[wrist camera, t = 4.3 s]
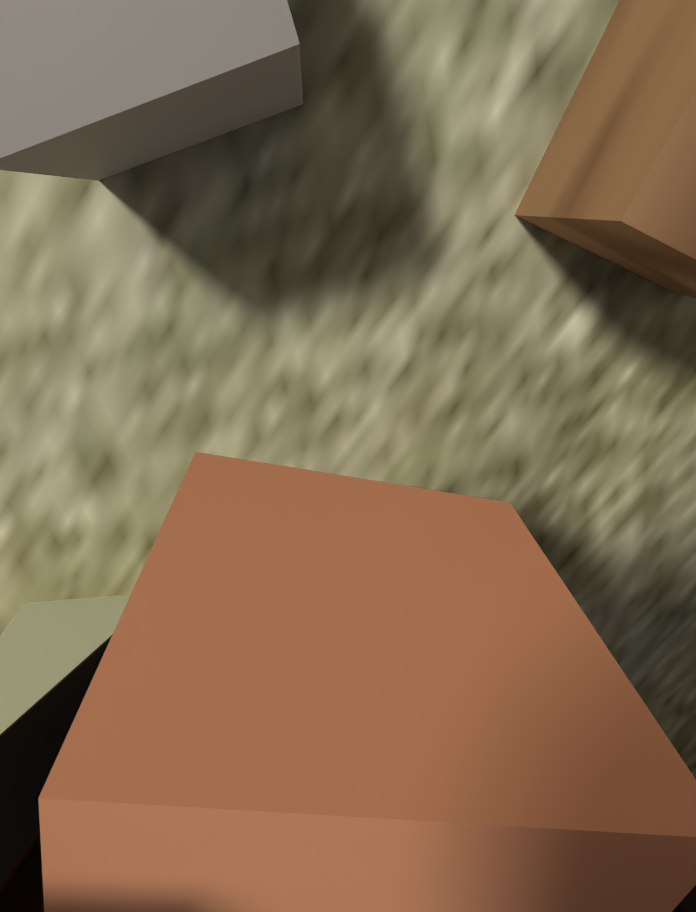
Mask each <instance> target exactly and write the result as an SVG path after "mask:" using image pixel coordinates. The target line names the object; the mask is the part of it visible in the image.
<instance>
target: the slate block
mask: <svg viewBox="0 0 696 912" xmlns="http://www.w3.org/2000/svg"><path fill="white" fill-rule="evenodd" d="M300 105H303V90H302V73H301V56H300V43H299V39H298V36H297V32H296V29H295V26H294V22H293V19H292V15H291V12H290V8H289V5H288V1H287V0H0V170H7V171H16V172H25V173H34V174H43V175H53V176H62V177H71V178H80V179H89V180H98V181H99V180H101V179H104V178H107V177H109V176H112V175H115V174H118V173H120V172H123V171H126V170H128V169H131V168H134V167H136V166H139V165H142V164H144V163H147V162H150V161H152V160H155V159H158V158H160V157H163V156H166V155H169V154H171V153H174V152H177V151H179V150H182V149H185V148H187V147H190V146H193V145H195V144H198V143H201V142H203V141H206V140H209V139H212V138H214V137H217V136H220V135H222V134H225V133H228V132H230V131H233V130H236V129H238V128H241V127H244V126H246V125H249V124H252V123H254V122H257V121H260V120H263V119H265V118H268V117H271V116H273V115H276V114H279V113H281V112H284V111H287V110H289V109H292V108H295V107H297V106H300Z"/></svg>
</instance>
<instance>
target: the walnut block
mask: <svg viewBox="0 0 696 912" xmlns="http://www.w3.org/2000/svg"><path fill="white" fill-rule="evenodd" d="M515 216H517V217H519V218H521V219H524V220H526V221H528V222H530V223H532V224H534V225H536V226H538V227H540V228H542V229H544V230H546V231H548V232H550V233H552V234H554V235H556V236H558V237H560V238H562V239H565V240H567V241H569V242H571V243H573V244H575V245H577V246H579V247H581V248H583V249H585V250H587V251H589V252H591V253H593V254H595V255H597V256H599V257H601V258H603V259H605V260H608V261H610V262H612V263H614V264H616V265H618V266H620V267H622V268H624V269H626V270H628V271H630V272H632V273H634V274H636V275H638V276H640V277H642V278H644V279H646V280H648V281H651V282H653V283H655V284H657V285H659V286H661V287H663V288H665V289H667V290H669V291H671V292H673V293H677V294H682V295H686V296H690V297H694V298H696V0H620V1H619V3H618V5H617V7H616V9H615V11H614V13H613V15H612V17H611V19H610V21H609V23H608V25H607V27H606V29H605V31H604V33H603V35H602V38H601V40H600V42H599V44H598V46H597V48H596V50H595V52H594V54H593V56H592V58H591V60H590V62H589V64H588V66H587V68H586V70H585V72H584V74H583V76H582V78H581V80H580V82H579V84H578V87H577V89H576V91H575V93H574V95H573V97H572V99H571V101H570V103H569V105H568V107H567V109H566V111H565V113H564V115H563V117H562V119H561V121H560V123H559V125H558V127H557V129H556V131H555V133H554V135H553V138H552V140H551V142H550V144H549V146H548V148H547V150H546V152H545V154H544V156H543V158H542V160H541V162H540V164H539V166H538V168H537V170H536V172H535V174H534V176H533V178H532V180H531V182H530V184H529V187H528V189H527V191H526V193H525V195H524V197H523V199H522V201H521V203H520V205H519V207H518V209H517V211H516V213H515Z"/></svg>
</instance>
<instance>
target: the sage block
mask: <svg viewBox="0 0 696 912" xmlns="http://www.w3.org/2000/svg"><path fill="white" fill-rule="evenodd" d="M129 597H130V595H120V596H107V597H95V598H83V599H70V600H58V601H45V602H33V603H24V604H23V605H22V606H21V608H20V609H19V611H18V612H17V613H16V615H15V616H14V617H13V619H12V620H11V622H10V623H9V624H8V626H7V627H6V629H5V630H4V631H3V633H2V634H1V636H0V734H1V733H2V732H3V731H4V730H6V729H7V728H8V727H9V726H10V725H11V724H12V723H13V722H15V721H16V720H17V719H18V718H19V717H20V716H21V715H22V714H24V713H25V712H26V711H27V710H28V709H29V708H30V707H31V706H33V705H34V704H35V703H36V702H37V701H38V700H39V699H40V698H42V697H43V696H44V695H45V694H46V693H47V692H48V691H49V690H51V689H52V688H53V687H54V686H55V685H56V684H57V683H58V682H60V681H61V680H62V679H63V678H64V677H65V676H66V675H67V674H69V673H70V672H71V671H72V670H73V669H74V668H75V667H76V666H78V665H79V664H80V663H81V662H82V661H83V660H84V659H85V658H87V657H88V656H89V655H90V654H91V653H92V652H93V651H94V650H95V649H97V648H98V647H99V646H100V645H101V644H102V643H103V642H104V641H106V640H107V639H108V638H109V637H110V636H111V635H112V634H113V633H114V630H115V628H116V626H117V624H118V622H119V619H120V617H121V615H122V613H123V611H124V608H125V606H126V604H127V602H128V600H129Z"/></svg>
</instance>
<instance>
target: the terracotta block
mask: <svg viewBox="0 0 696 912" xmlns="http://www.w3.org/2000/svg"><path fill="white" fill-rule="evenodd" d="M38 802H39V821H40V840H41V859H42V878H43V897H44V912H672V911H673V910H674V909H675V908H676V906H677V905H678V904H679V903H680V902H681V901H682V900H683V899H684V897H685V896H686V895H687V894H688V893H689V892H690V891H691V890H692V888H693V887H694V886H695V885H696V779H695V778H694V776H693V775H692V773H691V772H690V770H689V769H688V767H687V766H686V764H685V763H684V761H683V760H682V758H681V757H680V755H679V754H678V752H677V751H676V749H675V748H674V746H673V745H672V743H671V742H670V740H669V739H668V737H667V736H666V734H665V733H664V731H663V730H662V728H661V727H660V725H659V724H658V722H657V721H656V719H655V718H654V716H653V715H652V713H651V712H650V711H649V709H648V708H647V706H646V705H645V703H644V702H643V700H642V699H641V697H640V696H639V694H638V693H637V691H636V690H635V688H634V687H633V685H632V684H631V682H630V681H629V679H628V678H627V676H626V675H625V673H624V672H623V670H622V669H621V667H620V666H619V664H618V663H617V661H616V660H615V658H614V657H613V655H612V654H611V652H610V651H609V649H608V648H607V646H606V645H605V643H604V642H603V641H602V639H601V638H600V636H599V635H598V633H597V632H596V630H595V629H594V627H593V626H592V624H591V623H590V621H589V620H588V618H587V617H586V615H585V614H584V612H583V611H582V609H581V608H580V606H579V605H578V603H577V602H576V600H575V599H574V597H573V596H572V594H571V593H570V591H569V590H568V588H567V587H566V585H565V584H564V582H563V581H562V579H561V578H560V576H559V575H558V574H557V572H556V571H555V569H554V568H553V566H552V565H551V563H550V562H549V560H548V559H547V557H546V556H545V554H544V553H543V551H542V550H541V548H540V547H539V545H538V544H537V542H536V541H535V539H534V538H533V536H532V535H531V533H530V532H529V530H528V529H527V527H526V526H525V524H524V523H523V521H522V520H521V518H520V517H519V515H518V514H517V512H516V511H515V509H514V508H513V506H512V505H511V504H510V502H504V501H498V500H492V499H485V498H479V497H473V496H467V495H460V494H454V493H448V492H442V491H435V490H429V489H423V488H417V487H411V486H404V485H398V484H392V483H386V482H379V481H373V480H367V479H361V478H354V477H348V476H342V475H336V474H329V473H323V472H317V471H311V470H304V469H298V468H292V467H286V466H280V465H273V464H267V463H261V462H255V461H248V460H242V459H236V458H230V457H223V456H217V455H211V454H205V453H198V452H195V454H194V456H193V458H192V461H191V463H190V465H189V467H188V469H187V472H186V474H185V476H184V478H183V480H182V483H181V485H180V487H179V489H178V491H177V494H176V496H175V498H174V500H173V503H172V505H171V507H170V509H169V511H168V514H167V516H166V518H165V520H164V522H163V525H162V527H161V529H160V531H159V533H158V536H157V538H156V540H155V542H154V544H153V547H152V549H151V551H150V553H149V555H148V558H147V560H146V562H145V564H144V566H143V569H142V571H141V573H140V575H139V577H138V580H137V582H136V584H135V586H134V588H133V591H132V593H131V595H130V597H129V600H128V602H127V604H126V606H125V608H124V611H123V613H122V615H121V617H120V619H119V622H118V624H117V626H116V628H115V630H114V633H113V635H112V637H111V639H110V641H109V644H108V646H107V648H106V650H105V652H104V655H103V657H102V659H101V661H100V663H99V666H98V668H97V670H96V672H95V674H94V677H93V679H92V681H91V683H90V685H89V688H88V690H87V692H86V694H85V696H84V699H83V701H82V703H81V705H80V708H79V710H78V712H77V714H76V716H75V719H74V721H73V723H72V725H71V727H70V730H69V732H68V734H67V736H66V738H65V741H64V743H63V745H62V747H61V749H60V752H59V754H58V756H57V758H56V760H55V763H54V765H53V767H52V769H51V771H50V774H49V776H48V778H47V780H46V782H45V785H44V787H43V789H42V791H41V793H40V796H39V798H38Z"/></svg>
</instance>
